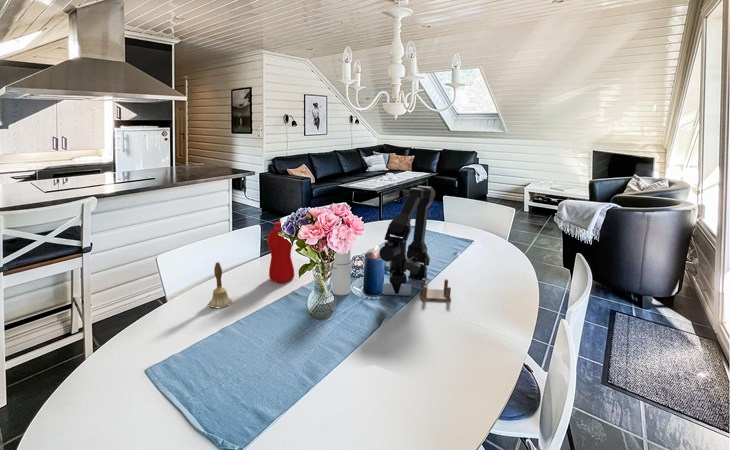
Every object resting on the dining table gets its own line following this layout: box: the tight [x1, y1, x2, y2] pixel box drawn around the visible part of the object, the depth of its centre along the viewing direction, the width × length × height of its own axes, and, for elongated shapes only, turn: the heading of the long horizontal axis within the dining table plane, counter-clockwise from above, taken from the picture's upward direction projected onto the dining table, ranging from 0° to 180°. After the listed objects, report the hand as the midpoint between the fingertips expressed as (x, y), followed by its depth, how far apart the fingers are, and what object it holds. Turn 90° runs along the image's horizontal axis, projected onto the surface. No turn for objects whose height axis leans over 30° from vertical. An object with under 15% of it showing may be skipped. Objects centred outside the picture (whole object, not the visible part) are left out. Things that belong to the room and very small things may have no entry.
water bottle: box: [266, 221, 295, 284], centre depth 161 cm, size 9×11×25 cm
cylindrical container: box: [331, 248, 352, 296], centre depth 150 cm, size 7×7×25 cm
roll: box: [382, 282, 412, 297], centre depth 150 cm, size 11×4×4 cm, turn 87°
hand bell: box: [208, 261, 233, 308], centre depth 140 cm, size 8×8×16 cm
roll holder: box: [420, 278, 452, 302], centre depth 150 cm, size 11×8×6 cm
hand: (396, 291), depth 151 cm, fingers closed on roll, 4 cm apart
